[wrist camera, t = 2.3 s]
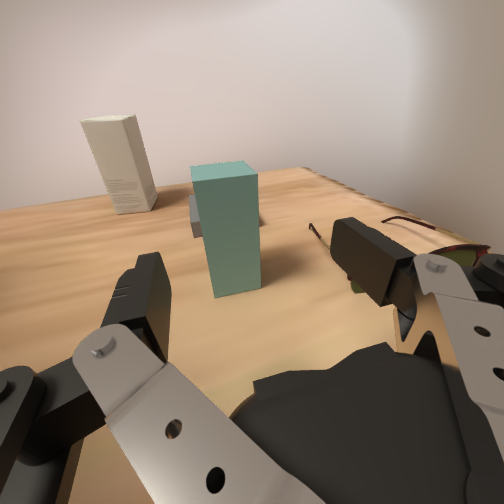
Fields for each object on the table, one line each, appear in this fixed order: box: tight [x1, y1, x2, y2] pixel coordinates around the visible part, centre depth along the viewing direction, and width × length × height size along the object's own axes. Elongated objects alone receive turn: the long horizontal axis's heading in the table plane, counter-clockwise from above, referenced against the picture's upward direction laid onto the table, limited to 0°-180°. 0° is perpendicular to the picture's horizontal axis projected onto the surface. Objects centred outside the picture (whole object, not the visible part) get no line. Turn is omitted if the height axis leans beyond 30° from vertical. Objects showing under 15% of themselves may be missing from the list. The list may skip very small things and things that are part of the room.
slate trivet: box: [189, 194, 203, 238], centre depth 39 cm, size 10×12×2 cm
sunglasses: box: [309, 216, 490, 293], centre depth 29 cm, size 14×15×5 cm
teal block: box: [190, 161, 261, 298], centre depth 23 cm, size 5×5×12 cm
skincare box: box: [80, 115, 158, 215], centre depth 42 cm, size 8×7×16 cm
